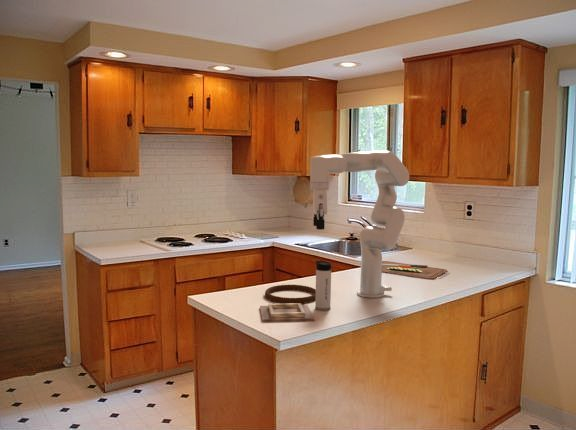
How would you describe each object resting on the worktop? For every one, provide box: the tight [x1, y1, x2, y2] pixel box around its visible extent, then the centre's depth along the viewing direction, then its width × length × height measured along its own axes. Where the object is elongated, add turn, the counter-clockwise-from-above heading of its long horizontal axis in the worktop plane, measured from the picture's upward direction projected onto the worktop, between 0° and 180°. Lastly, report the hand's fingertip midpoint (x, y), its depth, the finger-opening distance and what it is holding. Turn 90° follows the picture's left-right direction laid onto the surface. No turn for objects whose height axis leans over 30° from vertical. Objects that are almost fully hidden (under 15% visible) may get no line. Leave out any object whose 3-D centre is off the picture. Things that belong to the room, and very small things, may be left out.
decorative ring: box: [264, 284, 316, 305], centre depth 236 cm, size 24×3×30 cm
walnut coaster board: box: [259, 303, 315, 323], centre depth 208 cm, size 20×18×2 cm
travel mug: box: [314, 260, 332, 311], centre depth 216 cm, size 6×7×20 cm
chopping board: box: [382, 260, 451, 280], centre depth 292 cm, size 45×27×3 cm, turn 55°
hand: (318, 227), depth 215 cm, fingers open, 9 cm apart
